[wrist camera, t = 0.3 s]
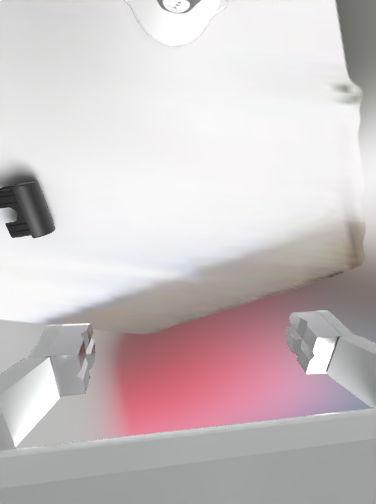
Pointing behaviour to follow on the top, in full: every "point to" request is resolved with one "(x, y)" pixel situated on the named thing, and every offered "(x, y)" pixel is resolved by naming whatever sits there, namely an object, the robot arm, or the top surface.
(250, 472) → the robot arm
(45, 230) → the end cap
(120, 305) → the top surface
